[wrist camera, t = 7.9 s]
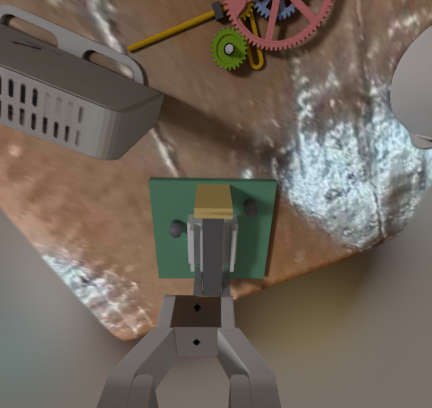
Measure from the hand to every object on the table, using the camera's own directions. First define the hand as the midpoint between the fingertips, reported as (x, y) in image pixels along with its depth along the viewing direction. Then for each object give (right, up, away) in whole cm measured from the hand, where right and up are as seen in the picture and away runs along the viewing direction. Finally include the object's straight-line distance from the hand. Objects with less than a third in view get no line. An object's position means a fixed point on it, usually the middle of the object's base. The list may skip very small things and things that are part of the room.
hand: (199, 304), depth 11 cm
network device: (-18, +22, +23) cm, 37 cm away
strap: (0, -4, +29) cm, 29 cm away
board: (0, 0, +34) cm, 34 cm away
